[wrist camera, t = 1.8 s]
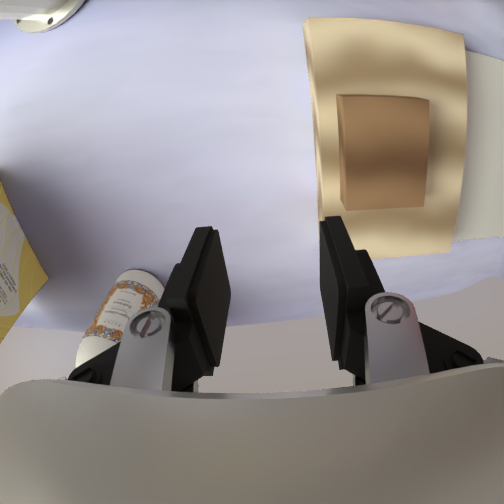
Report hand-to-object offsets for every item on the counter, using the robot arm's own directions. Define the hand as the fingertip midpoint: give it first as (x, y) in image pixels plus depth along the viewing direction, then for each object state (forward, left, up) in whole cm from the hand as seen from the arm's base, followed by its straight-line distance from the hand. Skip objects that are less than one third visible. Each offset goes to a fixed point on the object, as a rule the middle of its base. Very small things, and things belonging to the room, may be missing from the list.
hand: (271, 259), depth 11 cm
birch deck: (0, +11, -19) cm, 22 cm away
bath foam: (+16, -18, -19) cm, 31 cm away
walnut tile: (0, +9, -15) cm, 18 cm away
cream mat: (+1, +25, -19) cm, 32 cm away
